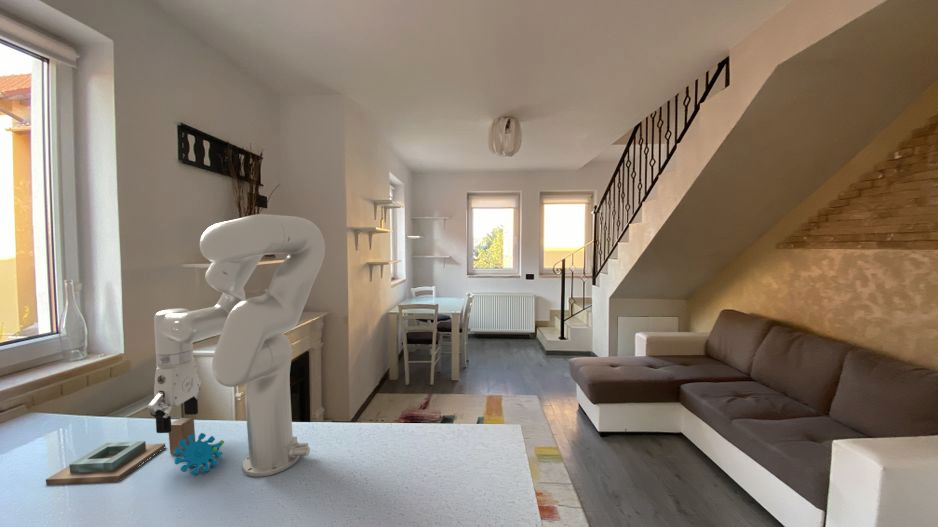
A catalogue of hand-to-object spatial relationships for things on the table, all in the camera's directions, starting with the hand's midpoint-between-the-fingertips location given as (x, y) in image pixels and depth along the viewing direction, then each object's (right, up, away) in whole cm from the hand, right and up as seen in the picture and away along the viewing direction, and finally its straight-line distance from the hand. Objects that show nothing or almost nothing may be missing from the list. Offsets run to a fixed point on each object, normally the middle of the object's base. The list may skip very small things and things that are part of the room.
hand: (178, 422), depth 99 cm
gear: (+11, -8, -7) cm, 15 cm away
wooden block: (+1, -8, 0) cm, 8 cm away
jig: (-13, -8, -5) cm, 16 cm away
